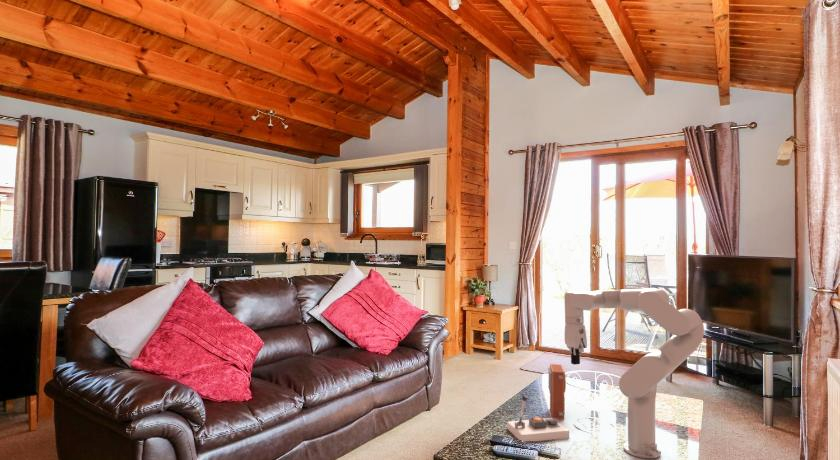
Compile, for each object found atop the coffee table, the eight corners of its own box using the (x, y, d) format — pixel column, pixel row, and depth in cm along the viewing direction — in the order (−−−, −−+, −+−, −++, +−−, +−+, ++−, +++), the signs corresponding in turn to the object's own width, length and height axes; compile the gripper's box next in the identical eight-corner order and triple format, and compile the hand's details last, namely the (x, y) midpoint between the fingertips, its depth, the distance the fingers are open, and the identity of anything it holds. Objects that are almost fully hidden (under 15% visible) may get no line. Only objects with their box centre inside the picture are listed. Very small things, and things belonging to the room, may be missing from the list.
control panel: (562, 408, 222) (566, 420, 208) (547, 407, 224) (550, 419, 209) (562, 363, 223) (566, 372, 208) (547, 363, 224) (550, 371, 210)
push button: (543, 424, 193) (543, 420, 193) (535, 425, 192) (535, 420, 192) (539, 421, 196) (539, 416, 196) (531, 422, 195) (531, 417, 195)
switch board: (569, 437, 189) (569, 424, 190) (521, 442, 185) (521, 428, 185) (552, 424, 203) (552, 411, 203) (507, 428, 198) (507, 415, 198)
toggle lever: (522, 426, 192) (528, 398, 187) (518, 427, 191) (523, 398, 187) (520, 423, 194) (526, 394, 189) (516, 423, 193) (521, 395, 189)
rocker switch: (557, 423, 194) (557, 420, 194) (550, 423, 193) (550, 420, 193) (552, 420, 198) (552, 418, 198) (545, 421, 197) (545, 418, 197)
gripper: (592, 322, 192) (594, 367, 191) (572, 317, 206) (573, 359, 205) (576, 323, 190) (578, 368, 189) (556, 318, 204) (558, 360, 203)
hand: (575, 363), depth 197 cm, fingers closed
